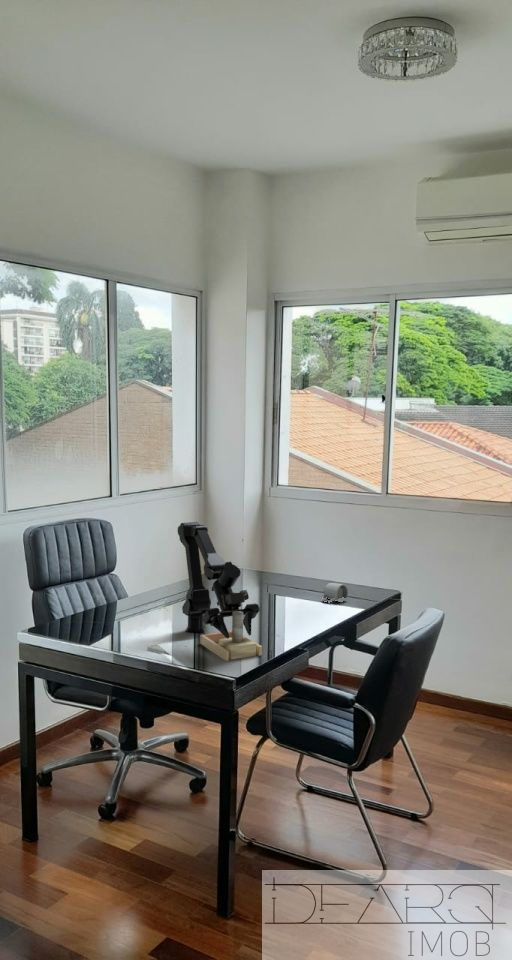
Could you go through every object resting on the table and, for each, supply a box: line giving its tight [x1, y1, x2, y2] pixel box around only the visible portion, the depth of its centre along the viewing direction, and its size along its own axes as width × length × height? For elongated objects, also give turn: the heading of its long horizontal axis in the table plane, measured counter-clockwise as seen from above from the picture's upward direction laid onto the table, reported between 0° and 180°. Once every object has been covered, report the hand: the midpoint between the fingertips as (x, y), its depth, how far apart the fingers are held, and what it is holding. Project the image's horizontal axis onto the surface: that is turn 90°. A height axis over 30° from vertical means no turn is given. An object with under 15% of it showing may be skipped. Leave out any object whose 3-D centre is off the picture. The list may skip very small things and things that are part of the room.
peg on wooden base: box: [218, 611, 257, 660], centre depth 253 cm, size 9×9×14 cm
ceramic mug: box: [321, 582, 349, 602], centre depth 329 cm, size 11×8×8 cm
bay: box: [199, 630, 263, 661], centre depth 258 cm, size 20×14×4 cm
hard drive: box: [146, 641, 172, 657], centre depth 259 cm, size 2×8×12 cm
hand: (239, 636), depth 252 cm, fingers open, 8 cm apart
